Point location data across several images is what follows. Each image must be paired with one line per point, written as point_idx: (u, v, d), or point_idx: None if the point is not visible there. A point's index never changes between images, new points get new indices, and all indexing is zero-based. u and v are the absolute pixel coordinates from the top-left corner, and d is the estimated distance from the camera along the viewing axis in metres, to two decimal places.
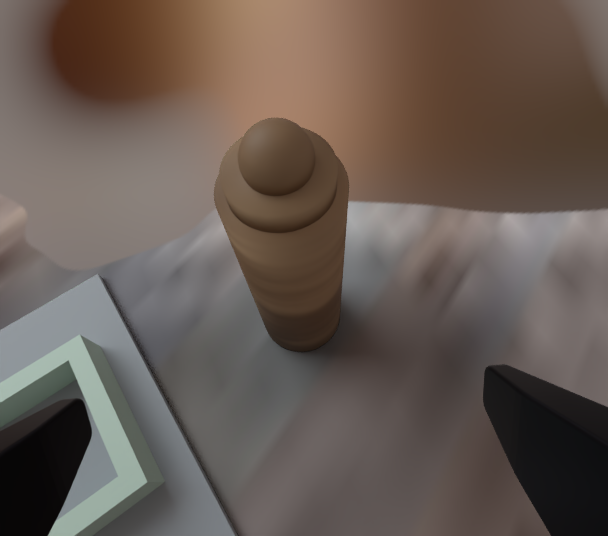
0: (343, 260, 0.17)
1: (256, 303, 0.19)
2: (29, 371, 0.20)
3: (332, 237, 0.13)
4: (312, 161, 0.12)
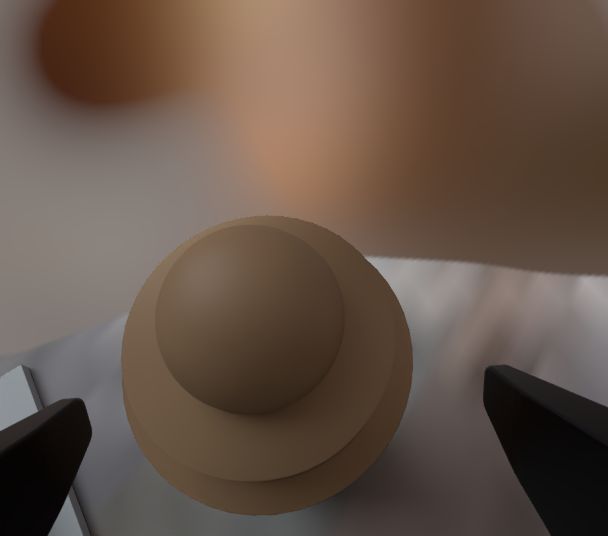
0: None
1: None
2: None
3: None
4: (339, 336, 0.05)
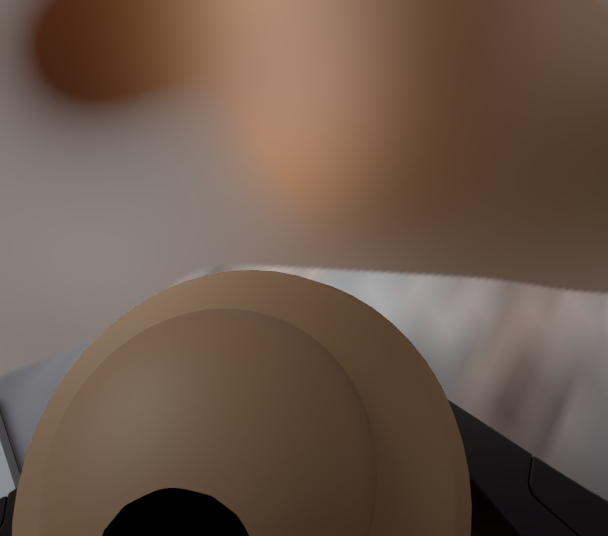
0: None
1: None
2: None
3: None
4: (371, 519, 0.03)
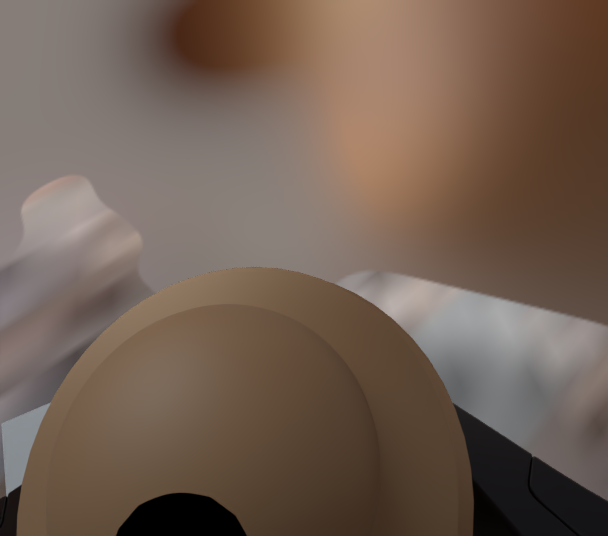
0: None
1: None
2: None
3: None
4: (374, 512, 0.03)
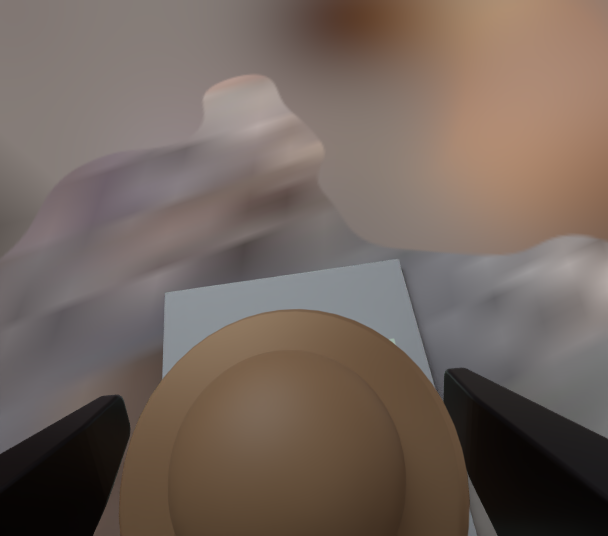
0: None
1: None
2: None
3: None
4: (403, 508, 0.04)
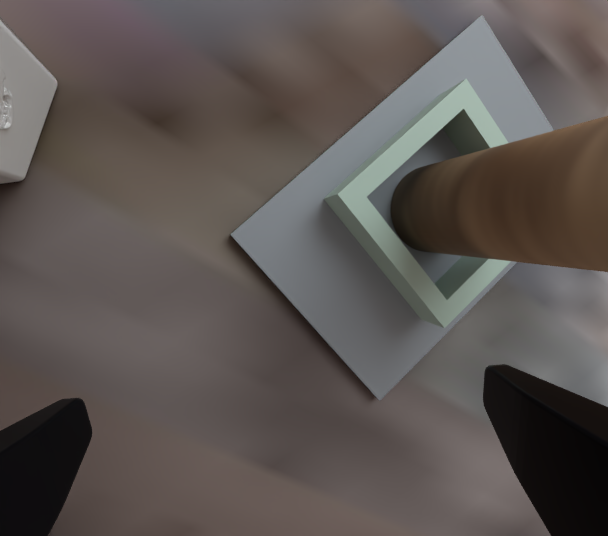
0: None
1: (449, 181, 0.16)
2: None
3: None
4: None
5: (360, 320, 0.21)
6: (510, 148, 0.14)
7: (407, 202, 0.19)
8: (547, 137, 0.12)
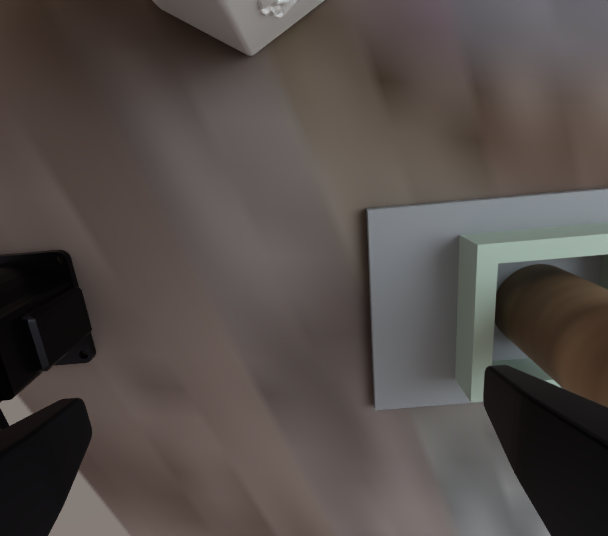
0: None
1: (576, 301, 0.17)
2: None
3: None
4: None
5: (409, 344, 0.22)
6: None
7: (523, 288, 0.20)
8: None
